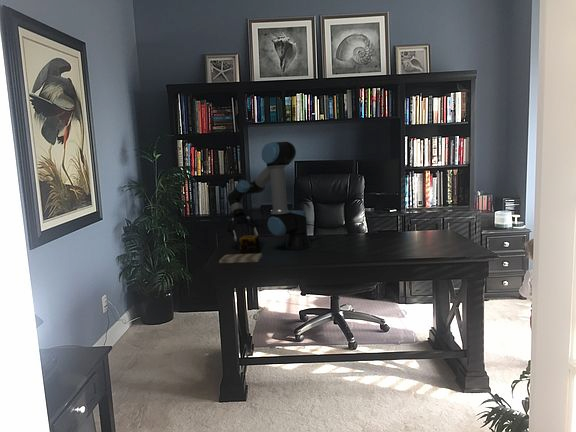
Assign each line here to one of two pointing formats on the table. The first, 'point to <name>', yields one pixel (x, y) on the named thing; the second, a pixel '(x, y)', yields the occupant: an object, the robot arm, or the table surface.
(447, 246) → the table surface
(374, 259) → the table surface
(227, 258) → the birch board
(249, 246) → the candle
